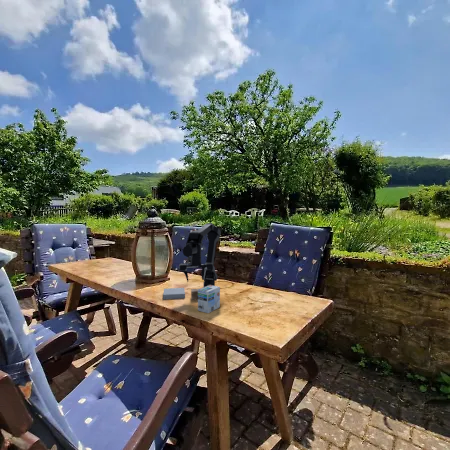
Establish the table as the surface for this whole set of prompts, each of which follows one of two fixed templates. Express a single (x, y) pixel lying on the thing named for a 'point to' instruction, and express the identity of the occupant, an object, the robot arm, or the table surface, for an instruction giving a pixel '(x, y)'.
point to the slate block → (174, 293)
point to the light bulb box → (208, 298)
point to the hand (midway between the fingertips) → (196, 281)
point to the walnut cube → (194, 294)
